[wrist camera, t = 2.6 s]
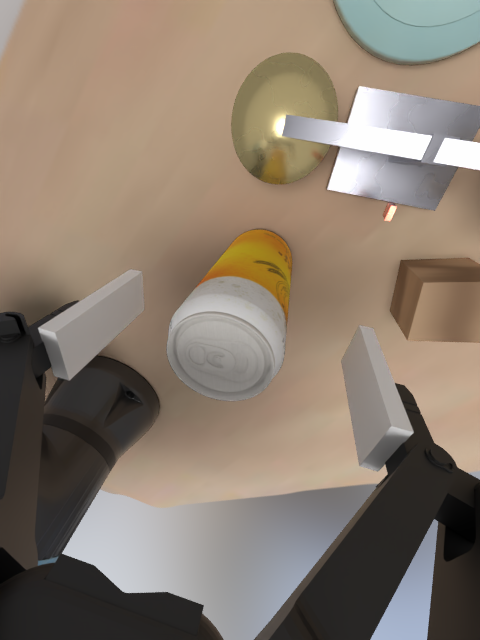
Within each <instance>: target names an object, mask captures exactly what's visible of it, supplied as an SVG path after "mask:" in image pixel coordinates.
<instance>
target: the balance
mask: <svg viewBox="0 0 480 640" xmlns="http://www.w3.org/2000/svg"><path fill="white" fill-rule="evenodd" d="M337 119H338V105H337V97H336V93H335V89H334V86H333V83H332V81H331V79H330V77H329V76H328V74H327V73H326V71H325V70H324V69H323V67H322V66H321V65H320V64H319V63H317V62H316V61H315V60H313V59H312V58H310V57H308V56H306V55H303V54H299V53H281V54H278V55H274V56H272V57H270V58H268V59H266V60H264V61H263V62H262V63H260V64H259V65H258V66H257V67H256V68H254V69H253V70H252V72H251V73H250V74H249V75H248V76H247V78H246V79H245V81H244V82H243V84H242V86H241V88H240V90H239V92H238V94H237V97H236V99H235V103H234V107H233V112H232V121H231V129H232V139H233V143H234V147H235V150H236V153H237V155H238V157H239V159H240V161H241V162H242V164H243V165H244V167H245V168H246V169H247V170H248V171H249V172H250V173H251V174H252V175H253V176H255V177H256V178H258V179H260V180H262V181H264V182H267V183H271V184H287V183H291V182H294V181H297V180H299V179H301V178H303V177H304V176H306V175H308V174H309V173H310V172H311V171H313V170H314V169H315V168H316V167H317V166H318V165H319V163H320V162H321V161H322V159H323V158H324V157H325V155H326V153H327V152H328V150H329V148H330V146H337V147H339V148H338V152H337V155H336V158H335V161H334V165H333V168H332V171H331V174H330V178H329V181H328V184H327V187H326V188H327V189H328V190H333V191H338V192H343V193H348V194H354V195H359V196H364V197H369V198H374V199H379V200H384V201H389V202H388V204H387V206H386V209H385V211H384V213H383V217H384V220H386V221H391V218H392V216H393V214H394V212H395V210H396V205H395V204H394V203H399V204H404V205H409V206H414V207H419V208H424V209H429V210H434V211H435V209H436V208H437V206H438V204H439V202H440V200H441V198H442V196H443V195H444V193H445V191H446V189H447V187H448V185H449V183H450V181H451V180H452V178H453V176H454V174H455V172H456V170H457V168H458V167H460V168H466V169H471V170H477V171H480V143H476V142H472V141H473V139H474V137H475V135H476V133H477V131H478V129H479V128H480V106H476V105H470V104H464V103H457V102H451V101H445V100H439V99H433V98H427V97H421V96H415V95H409V94H403V93H397V92H391V91H385V90H379V89H373V88H367V87H360V86H359V87H358V89H357V90H356V93H355V96H354V100H353V103H352V106H351V109H350V113H349V116H348V119H347V122H346V123H341V122H337ZM392 202H394V203H392Z"/></svg>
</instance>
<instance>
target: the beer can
mask: <svg viewBox="0 0 480 640" xmlns="http://www.w3.org/2000/svg"><path fill="white" fill-rule="evenodd" d="M291 271H292V256H291V252H290V250H289V248H288V246H287V244H286V243H285V242H284V240H283V239H282V238H281V237H279V236H278V235H276V234H275V233H273V232H270V231H267V230H260V229H257V230H250V231H247V232H245V233H243V234H241V235H240V236H238V237H237V238H236V239H235V240H234V241H233V243H232V244H231V245H230V246H229V248H228V249H227V250H226V251H225V252H224V254H223V255H222V256H221V257H220V258H219V260H218V261H217V262H216V263H215V265H214V266H213V267H212V268H211V269H210V271H209V272H208V273H207V274H206V276H205V277H204V278H203V279H202V280H201V282H200V283H199V284H198V285H197V286H196V288H195V289H194V290H193V291H192V293H191V294H190V295H189V296H188V297H187V299H186V300H185V301H184V302H183V304H182V305H181V306H180V307H179V308H178V310H177V311H176V312H175V314H174V315H173V317H172V319H171V322H170V325H169V332H168V340H167V349H166V351H167V357H168V361H169V363H170V366H171V367H172V369H173V371H174V372H175V374H176V375H177V376H178V378H179V379H180V380H181V381H182V382H183V383H185V384H186V385H187V386H188V387H190V388H191V389H193V390H194V391H196V392H198V393H200V394H202V395H204V396H207V397H209V398H213V399H217V400H222V401H241V400H246V399H249V398H252V397H254V396H256V395H258V394H259V393H261V392H262V391H263V390H264V389H265V388H266V387H267V386H268V385H269V383H270V382H271V380H272V378H273V377H274V376H275V375H276V374H277V373H278V371H279V370H280V368H281V366H282V363H283V360H284V354H285V343H286V331H287V319H288V307H289V295H290V283H291Z"/></svg>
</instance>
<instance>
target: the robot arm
mask: <svg viewBox="0 0 480 640" xmlns="http://www.w3.org/2000/svg"><path fill="white" fill-rule="evenodd" d="M143 311H144V293H143V275H142V272H141V271H137V270H133V269H130V270H128V271H127V272H125V273H123V274H122V275H120V276H119V277H117V278H116V279H114V280H112V281H111V282H109V283H108V284H106V285H105V286H103V287H101V288H100V289H98V290H97V291H95V292H94V293H92V294H90V295H89V296H87V297H86V298H84V299H83V300H81V301H74V302H71V303H68V304H65V305H64V306H62V307H61V308H59V309H58V310H56V311H54V312H52V313H51V315H47V316H46V317H44V318H43V319H41V320H39V321H38V322H36V323H34V324H33V325H31V326H29V327H28V326H27V323H26V320H25V318H24V315H22V314H21V313H17V312H4V313H0V640H223V638H222V636H221V635H220V633H219V632H218V630H217V629H216V627H215V626H214V625H213V624H212V623H211V621H210V620H209V619H208V618H207V617H205V616H204V615H203V614H202V611H203V605H201V604H198V603H196V602H193V601H190V600H187V599H185V598H182V597H179V596H176V595H173V594H171V593H168V592H155V593H124V592H122V591H121V590H120V589H119V588H118V587H117V586H116V585H114V583H112V582H111V581H110V580H109V579H108V578H107V577H106V576H105V575H104V574H103V573H102V572H100V570H98V569H97V568H96V567H95V566H94V565H91V564H88V563H86V562H83V561H80V560H77V559H75V558H72V557H69V556H66V555H64V554H62V552H63V550H64V548H65V547H66V545H67V543H68V542H69V540H70V538H71V537H72V535H73V533H74V532H75V530H76V528H77V527H78V525H79V523H80V522H81V520H82V518H83V517H84V515H85V513H86V512H87V510H88V508H89V506H90V505H91V503H92V501H93V500H94V498H95V496H96V494H97V493H98V491H99V490H100V488H101V486H102V485H103V483H104V481H105V480H106V478H107V476H108V474H109V473H110V471H111V470H112V468H113V466H114V465H115V463H116V462H117V460H118V459H119V458H120V457H121V456H122V455H123V454H124V453H125V452H126V451H127V450H128V449H129V448H130V447H131V446H132V445H134V444H135V443H136V442H137V441H138V440H139V439H140V438H141V437H142V436H143V435H144V434H145V433H146V432H147V431H148V430H149V429H150V428H151V426H152V425H153V423H154V421H155V419H156V417H157V416H158V413H159V402H158V399H157V396H156V394H155V392H154V390H153V389H152V388H151V386H150V385H149V384H148V383H147V382H146V380H145V379H143V378H142V377H141V376H140V375H139V374H138V373H136V372H135V371H134V370H132V369H131V368H129V367H127V366H125V365H124V364H122V363H119V362H117V361H115V360H112V359H108V358H105V357H99V356H96V355H97V354H98V353H99V352H100V351H101V350H102V349H103V348H105V347H106V346H107V345H108V344H109V343H110V342H111V341H112V340H113V339H114V338H115V337H116V336H117V335H118V334H119V333H120V332H121V331H123V330H124V329H125V328H126V327H127V326H128V325H129V324H130V323H131V322H132V321H133V320H134V319H135V318H136V317H137V316H138V315H140V314H141V313H142V312H143ZM341 363H342V368H343V374H344V380H345V386H346V392H347V397H348V403H349V409H350V415H351V421H352V426H353V432H354V438H355V444H356V450H357V455H358V461H359V466H361V467H364V468H368V469H371V470H375V471H379V470H380V469H381V468H382V467H383V466H384V465H386V468H387V472H388V475H387V476H386V477H385V478H384V479H383V480H382V481H381V482H380V483H379V484H378V485H377V486H376V489H375V490H374V492H373V493H372V494H371V495H370V497H369V498H368V499H367V500H366V502H365V503H364V504H363V505H362V507H361V508H360V509H359V510H358V512H357V513H356V514H355V515H354V517H353V518H352V519H351V520H350V522H349V523H348V524H347V525H346V527H345V528H344V529H343V530H342V532H341V533H340V534H339V535H338V537H337V538H336V539H335V541H334V542H333V543H332V544H331V545H330V547H329V548H328V549H327V551H326V552H325V553H324V554H323V556H322V557H321V558H320V559H319V561H318V562H317V563H316V564H315V566H314V567H313V568H312V569H311V571H310V572H309V573H308V574H307V576H306V577H305V578H304V579H303V581H302V582H301V583H300V584H299V586H298V587H297V588H296V589H295V591H294V592H293V593H292V594H291V596H290V597H289V598H288V599H287V601H286V602H285V603H284V604H283V606H282V607H281V608H280V610H279V611H278V612H277V613H276V614H275V616H274V617H273V618H272V619H271V621H270V622H269V623H268V624H267V625H266V626H265V628H264V629H263V630H262V631H261V632H260V633H259V634H258V636H257V637H256V638H255V639H254V640H370V639H371V637H372V635H373V633H374V631H375V629H376V627H377V626H378V624H379V622H380V620H381V618H382V616H383V614H384V612H385V610H386V609H387V607H388V605H389V603H390V601H391V599H392V597H393V595H394V593H395V592H396V590H397V588H398V586H399V584H400V582H401V580H402V578H403V576H404V575H405V573H406V571H407V569H408V567H409V565H410V563H411V561H412V559H413V557H414V556H415V554H416V552H417V550H418V548H419V546H420V544H421V542H422V541H423V539H424V537H425V535H426V533H427V531H428V529H429V527H430V525H431V524H432V521H433V520H434V519H436V520H437V521H438V531H437V541H436V552H435V564H434V574H433V584H432V594H431V606H430V616H429V626H428V637H427V640H480V480H479V479H477V478H476V477H474V476H472V475H470V474H468V473H466V472H464V471H463V470H461V469H459V468H457V466H456V463H455V461H454V460H453V459H452V457H451V456H450V455H449V454H448V453H447V452H446V451H445V450H444V449H443V448H441V447H440V446H438V445H436V444H435V443H434V441H433V439H432V437H431V435H430V432H429V430H428V428H427V426H426V424H425V421H424V419H423V417H422V415H420V413H421V412H420V410H419V408H418V407H417V403H416V401H415V399H414V397H413V395H412V394H411V393H410V391H409V390H408V389H407V388H406V387H405V386H404V385H400V384H396V383H394V380H393V378H392V375H391V373H390V370H389V368H388V365H387V362H386V360H385V357H384V355H383V352H382V350H381V347H380V345H379V342H378V339H377V337H376V334H375V332H374V329H373V328H370V327H366V326H362V325H359V327H358V329H357V331H356V333H355V335H354V337H353V339H352V340H351V342H350V344H349V346H348V348H347V350H346V352H345V354H344V356H343V358H342V360H341ZM50 367H51V368H52V371H53V374H54V376H56V377H58V379H57V381H56V383H55V384H54V386H53V388H52V390H51V392H50V393H49V395H48V397H47V399H46V401H45V388H46V375H45V371H47V370H48V369H49V368H50Z"/></svg>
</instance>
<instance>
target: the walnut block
mask: <svg viewBox="0 0 480 640" xmlns="http://www.w3.org/2000/svg"><path fill="white" fill-rule="evenodd" d="M390 312H391V313H392V315H393V317H394V319H395V320H396V322H397V324H398V325H399V327H400V329H401V330H402V332H403V334H404V336H405V337H406V339H407V341H439V342H473V343H480V264H478V263H476V262H475V261H473V260H471V259H470V258H453V259H421V260H401V263H400V267H399V272H398V276H397V281H396V286H395V290H394V295H393V299H392V304H391V308H390Z"/></svg>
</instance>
